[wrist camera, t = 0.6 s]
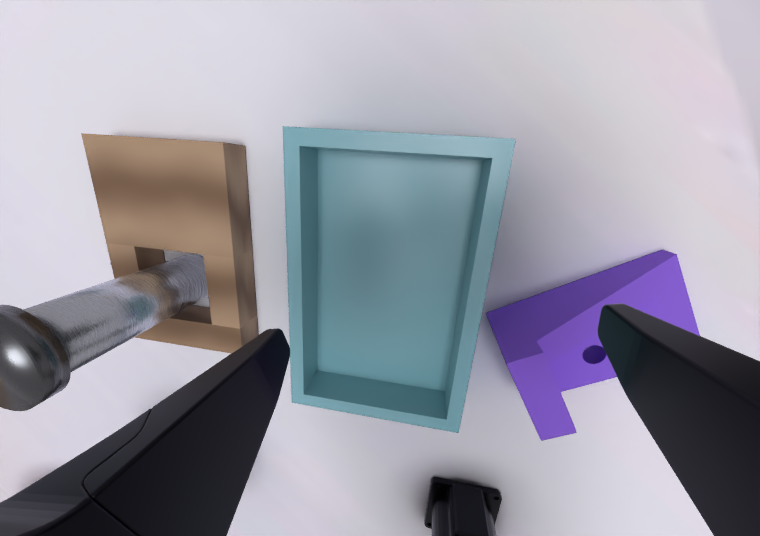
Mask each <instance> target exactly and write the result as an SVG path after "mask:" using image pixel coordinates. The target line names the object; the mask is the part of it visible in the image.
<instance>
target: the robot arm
mask: <svg viewBox="0 0 760 536" xmlns="http://www.w3.org/2000/svg"><path fill="white" fill-rule="evenodd" d="M598 337H599V340H600V342H601V344H602V346H603V348H604V350H605V352H606V354H607V356H608V359H609V361H610V363H611V365H612V367H613V369H614V371H615V373H616V375H617V377H618V379H619V381H620V383H621V386H622V387H623V389H624V391H625V393H626V395H627V397H628V398H629V400H630V402H631V403H632V405H633V407H634V408H635V410H636V411H637V413H638V415H639V416H640V418H641V419H642V421H643V423H644V424H645V426H646V427H647V429H648V431H649V432H650V434H651V435H652V437H653V439H654V440H655V442H656V443H657V445H658V447H659V448H660V450H661V451H662V453H663V455H664V456H665V458H666V459H667V461H668V463H669V464H670V466H671V468H672V469H673V471H674V472H675V474H676V476H677V477H678V479H679V480H680V482H681V484H682V485H683V487H684V488H685V490H686V492H687V493H688V495H689V496H690V498H691V500H692V501H693V503H694V504H695V506H696V508H697V509H698V511H699V512H700V514H701V516H702V517H703V519H704V520H705V522H706V524H707V525H708V527H709V528H710V530H711V532H712V533H713V535H714V536H760V361H757V360H755V359H753V358H750V357H748V356H746V355H743V354H741V353H739V352H736V351H734V350H732V349H729V348H727V347H725V346H722V345H720V344H717V343H715V342H713V341H710V340H708V339H706V338H703V337H701V336H699V335H696V334H694V333H692V332H689V331H687V330H685V329H682V328H680V327H677V326H675V325H673V324H670V323H668V322H666V321H663V320H661V319H659V318H656V317H654V316H652V315H649V314H647V313H645V312H642V311H640V310H637V309H635V308H633V307H630V306H628V305H626V304H622V303H619V304H606V305H604V306H603V307H602V309H601V314H600V319H599V324H598ZM289 357H290V347H289V345H288V343H287V340H286V338H285V336H284V333H283V331H282V330H281V329H268V330H266V331H264V332H263V333H261V334H260V335H258V336H257V337H255V338H254V339H252V340H251V341H249V342H248V343H247V344H245V345H244V346H242V347H241V348H239V349H238V350H236V351H235V352H233V353H232V354H230V355H229V356H227V357H226V358H224V359H223V360H221V361H220V362H219V363H217V364H216V365H214V366H213V367H211V368H210V369H208V370H207V371H205V372H204V373H202V374H201V375H199V376H198V377H196V378H195V379H193V380H192V381H191V382H189V383H188V384H186V385H185V386H183V387H182V388H180V389H179V390H177V391H176V392H174V393H173V394H171V395H170V396H168V397H167V398H165V399H164V400H163V401H161V402H160V403H158V404H157V405H155V406H154V407H153V408H152V409H149V410H148V411H146V412H145V413H143V414H142V415H140V416H139V417H137V418H136V419H134V420H133V421H131V422H130V423H128V424H127V425H125V426H124V427H122V428H121V429H119V430H118V431H116V432H115V433H113V434H112V435H110V436H109V437H107V438H105V439H104V440H102V441H101V442H99V443H98V444H96V445H94V446H93V447H91V448H90V449H88V450H86V451H85V452H83V453H82V454H80V455H78V456H77V457H75V458H74V459H72V460H70V461H69V462H67V463H66V464H64V465H62V466H61V467H59V468H57V469H56V470H54V471H53V472H51V473H49V474H48V475H46V476H45V477H43V478H41V479H40V480H38V481H36V482H35V483H33V484H32V485H30V486H28V487H27V488H25V489H24V490H22V491H20V492H19V493H17V494H15V495H14V496H12V497H10V498H8V499H7V500H5V501H3V502H1V503H0V536H226V535H227V533H228V530H229V528H230V525H231V522H232V520H233V517H234V514H235V512H236V509H237V507H238V504H239V501H240V499H241V496H242V493H243V491H244V488H245V486H246V483H247V480H248V478H249V475H250V472H251V470H252V467H253V465H254V462H255V459H256V457H257V454H258V451H259V449H260V446H261V443H262V441H263V438H264V436H265V433H266V430H267V428H268V425H269V422H270V420H271V417H272V415H273V412H274V409H275V407H276V404H277V401H278V398H279V394H280V391H281V387H282V383H283V380H284V376H285V372H286V369H287V365H288V361H289ZM501 500H502V497H501V493H500V492H499V491H497V490H493V489H488V488H483V487H478V486H474V485H469V484H464V483H459V482H454V481H449V480H444V479H439V478H433V479H432V480H431V485H430V491H429V497H428V502H427V508H426V514H425V526H426V527H428V528H431V529H432V536H496V532H495V526H494V525H495V521H496V518H497V514H498V511H499V507H500V504H501Z"/></svg>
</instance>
